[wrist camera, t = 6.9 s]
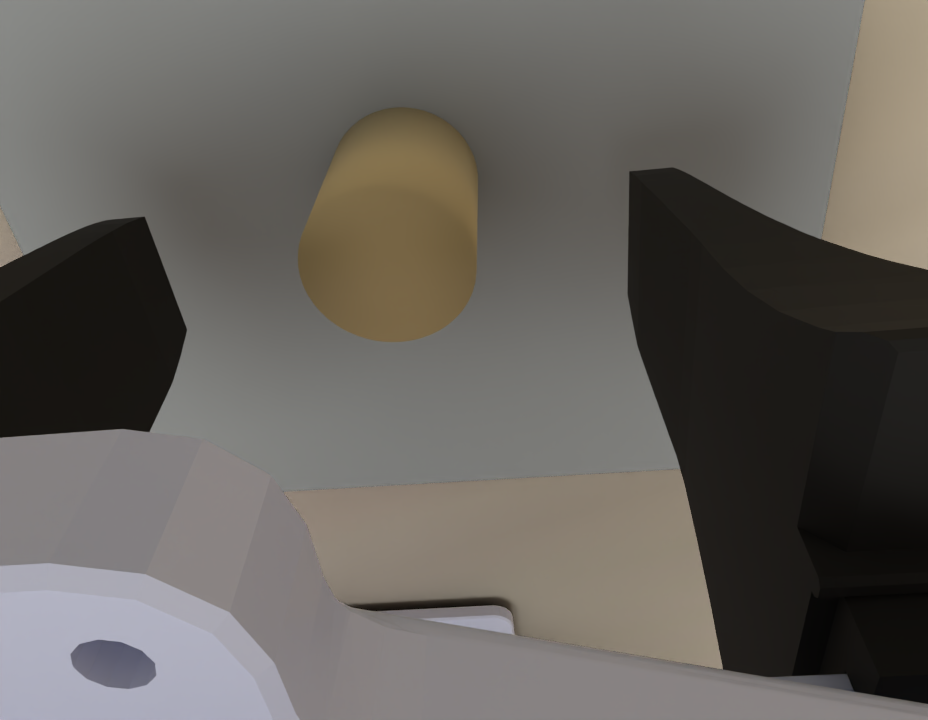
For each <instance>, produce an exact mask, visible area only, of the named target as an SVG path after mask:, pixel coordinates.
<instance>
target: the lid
mask: <svg viewBox="0 0 928 720" xmlns="http://www.w3.org/2000/svg"><path fill="white" fill-rule="evenodd" d="M864 2H865V0H0V207H1V209H2V211H3V213H4V215H5V217H6V219H7V221H8V224H9V226H10V228H11V230H12V232H13V234H14V236H15V238H16V240H17V242H18V245H19V247H20V249H21V251H22V253H23V255H26V254H28V253H30V252H32V251H34V250H36V249H38V248H40V247H42V246H44V245H46V244H48V243H50V242H52V241H54V240H56V239H58V238H60V237H63V236H65V235H67V234H69V233H71V232H74V231H76V230H78V229H81V228H83V227H86V226H88V225H91V224H94V223H98V222H101V221H105V220H112V219H123V218H134V217H145V218H146V221H147V224H148V226H149V229H150V232H151V234H152V237H153V240H154V242H155V245H156V248H157V250H158V253H159V256H160V258H161V261H162V264H163V266H164V269H165V272H166V274H167V277H168V280H169V282H170V285H171V288H172V290H173V293H174V296H175V298H176V301H177V304H178V306H179V309H180V312H181V315H182V317H183V320H184V323H185V325H186V328H187V333H186V337H185V341H184V345H183V349H182V353H181V357H180V360H179V363H178V367H177V370H176V373H175V377H174V380H173V383H172V385H171V387H170V389H169V392H168V394H167V396H166V398H165V400H164V402H163V404H162V407H161V409H160V411H159V413H158V415H157V417H156V419H155V422H154V424H153V426H152V428H151V430H150V433H158V434H166V435H174V436H182V437H190V438H198V439H204V440H206V441H208V442H210V443H212V444H213V445H215V446H217V447H219V448H221V449H223V450H225V451H227V452H228V453H230V454H232V455H234V456H236V457H238V458H240V459H241V460H243V461H245V462H247V463H249V464H251V465H253V466H254V467H256V468H258V469H260V470H262V471H264V472H266V473H267V474H269V475H271V476H272V478H273V479H274V480H275V482H276V483H277V484H278V486H279V487H280V489H281V490H282V491H283V492H286V491H303V490H321V489H338V488H356V487H373V486H391V485H408V484H426V483H443V482H460V481H478V480H495V479H513V478H530V477H548V476H565V475H583V474H600V473H618V472H635V471H653V470H670V469H680V466H679V463H678V459H677V456H676V453H675V451H674V448H673V445H672V442H671V439H670V437H669V434H668V431H667V428H666V425H665V423H664V420H663V417H662V414H661V412H660V409H659V406H658V403H657V400H656V398H655V395H654V392H653V389H652V386H651V384H650V381H649V378H648V375H647V372H646V369H645V367H644V364H643V361H642V358H641V355H640V352H639V349H638V346H637V341H636V336H635V332H634V327H633V322H632V316H631V311H630V305H629V300H628V294H627V290H628V225H629V171H638V170H649V169H660V168H671V167H673V168H676V169H679V170H681V171H684V172H686V173H688V174H690V175H691V176H693V177H695V178H697V179H699V180H701V181H702V182H704V183H706V184H708V185H710V186H711V187H713V188H715V189H717V190H719V191H720V192H722V193H724V194H726V195H728V196H729V197H731V198H733V199H735V200H737V201H739V202H740V203H742V204H744V205H746V206H748V207H750V208H752V209H754V210H756V211H758V212H760V213H762V214H764V215H766V216H768V217H770V218H772V219H774V220H777V221H779V222H781V223H783V224H786V225H788V226H790V227H792V228H795V229H797V230H799V231H801V232H804V233H806V234H809V235H811V236H814V237H816V238H819V239H821V238H822V232H823V227H824V221H825V216H826V211H827V205H828V200H829V194H830V189H831V183H832V178H833V172H834V167H835V161H836V156H837V150H838V145H839V139H840V134H841V128H842V123H843V117H844V112H845V106H846V101H847V95H848V90H849V84H850V79H851V73H852V68H853V62H854V57H855V51H856V46H857V40H858V35H859V29H860V24H861V18H862V13H863V7H864Z"/></svg>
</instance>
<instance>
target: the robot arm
mask: <svg viewBox="0 0 928 720" xmlns="http://www.w3.org/2000/svg"><path fill="white" fill-rule="evenodd" d="M627 294H628V300H629V305H630V311H631V316H632V322H633V327H634V332H635V336H636V341H637V346H638V349H639V352H640V355H641V358H642V361H643V364H644V367H645V369H646V372H647V375H648V378H649V381H650V384H651V386H652V389H653V392H654V395H655V398H656V400H657V403H658V406H659V409H660V412H661V414H662V417H663V420H664V423H665V425H666V428H667V431H668V434H669V437H670V439H671V442H672V445H673V448H674V451H675V453H676V456H677V459H678V463H679V466H680V469H681V473H682V476H683V480H684V483H685V487H686V492H687V496H688V501H689V505H690V510H691V514H692V519H693V523H694V527H695V532H696V536H697V541H698V546H699V550H700V555H701V560H702V565H703V570H704V574H705V579H706V584H707V589H708V593H709V598H710V603H711V608H712V614H713V619H714V624H715V629H716V634H717V639H718V645H719V650H720V655H721V660H722V665H723V670H722V669H716V668H710V667H704V666H698V665H692V664H686V663H680V662H674V661H668V660H662V659H656V658H650V657H644V656H638V655H632V654H626V653H620V652H614V651H608V650H602V649H596V648H591V647H585V646H579V645H573V644H567V643H561V642H555V641H549V640H543V639H537V638H531V637H525V636H519V635H515V632H514V623H513V616H512V614H511V612H510V611H509V610H508V609H506V608H504V607H502V606H497V605H487V606H468V607H449V608H429V609H410V610H391V611H370V610H364V609H358V608H352V607H350V606H348V605H346V604H344V603H342V602H340V601H338V600H337V599H336V598H335V597H334V595H333V593H332V591H331V590H330V588H329V586H328V584H327V582H326V580H325V578H324V576H323V573H322V570H321V567H320V564H319V561H318V558H317V555H316V552H315V549H314V545H313V542H312V539H311V536H310V533H309V530H308V527H307V524H306V523H305V522H304V520H303V519H302V518H301V516H300V515H299V513H298V512H297V511H296V509H295V508H294V506H293V505H292V504H291V502H290V501H289V500H288V498H287V497H286V495H285V494H284V493H283V491H282V490H281V489H280V487H279V486H278V484H277V483H276V482H275V480H274V479H273V478H272V476H271V475H269V474H267V473H266V472H264V471H262V470H260V469H258V468H256V467H254V466H253V465H251V464H249V463H247V462H245V461H243V460H241V459H240V458H238V457H236V456H234V455H232V454H230V453H228V452H227V451H225V450H223V449H221V448H219V447H217V446H215V445H213V444H212V443H210V442H208V441H206V440H204V439H198V438H190V437H182V436H174V435H166V434H158V433H150V430H151V428H152V426H153V424H154V422H155V419H156V417H157V415H158V413H159V411H160V409H161V407H162V404H163V402H164V400H165V398H166V396H167V394H168V392H169V389H170V387H171V385H172V383H173V380H174V377H175V373H176V370H177V367H178V363H179V360H180V357H181V353H182V349H183V345H184V341H185V337H186V333H187V328H186V325H185V323H184V320H183V317H182V315H181V312H180V309H179V306H178V304H177V301H176V298H175V296H174V293H173V290H172V288H171V285H170V282H169V280H168V277H167V274H166V272H165V269H164V266H163V264H162V261H161V258H160V256H159V253H158V250H157V248H156V245H155V242H154V240H153V237H152V234H151V232H150V229H149V226H148V224H147V221H146V218H145V217H134V218H123V219H112V220H105V221H101V222H98V223H94V224H91V225H88V226H86V227H83V228H81V229H78V230H76V231H74V232H71V233H69V234H67V235H65V236H63V237H60V238H58V239H56V240H54V241H52V242H50V243H48V244H46V245H44V246H42V247H40V248H38V249H36V250H34V251H32V252H30V253H28V254H26V255H24V256H22V257H20V258H18V259H16V260H14V261H12V262H10V263H8V264H6V265H4V266H2V267H0V720H928V270H926V269H922V268H917V267H913V266H909V265H904V264H900V263H896V262H891V261H888V260H884V259H881V258H877V257H873V256H870V255H866V254H863V253H860V252H857V251H854V250H851V249H848V248H845V247H842V246H839V245H836V244H833V243H830V242H827V241H824V240H821V239H819V238H816V237H814V236H811V235H809V234H806V233H804V232H801V231H799V230H797V229H795V228H792V227H790V226H788V225H786V224H783V223H781V222H779V221H777V220H774V219H772V218H770V217H768V216H766V215H764V214H762V213H760V212H758V211H756V210H754V209H752V208H750V207H748V206H746V205H744V204H742V203H740V202H739V201H737V200H735V199H733V198H731V197H729V196H728V195H726V194H724V193H722V192H720V191H719V190H717V189H715V188H713V187H711V186H710V185H708V184H706V183H704V182H702V181H701V180H699V179H697V178H695V177H693V176H691V175H690V174H688V173H686V172H684V171H681V170H679V169H676V168H673V167H671V168H660V169H649V170H638V171H629V225H628V290H627Z"/></svg>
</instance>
